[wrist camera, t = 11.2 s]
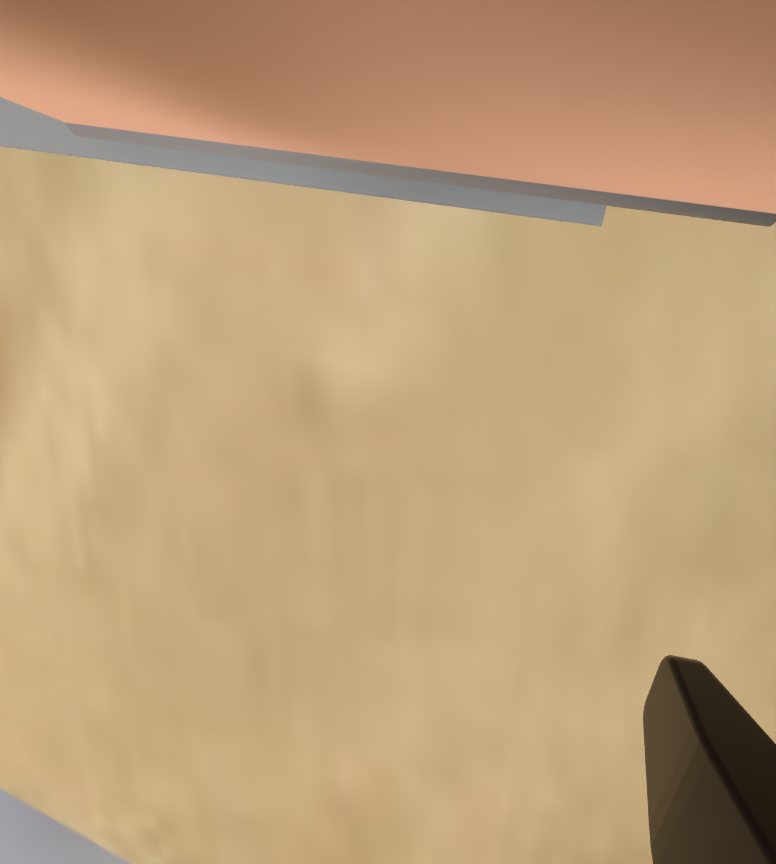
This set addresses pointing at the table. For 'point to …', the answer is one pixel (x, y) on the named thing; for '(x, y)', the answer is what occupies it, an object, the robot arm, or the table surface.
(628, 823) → the table surface
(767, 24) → the latch flap
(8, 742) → the table surface
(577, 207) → the hitch block
